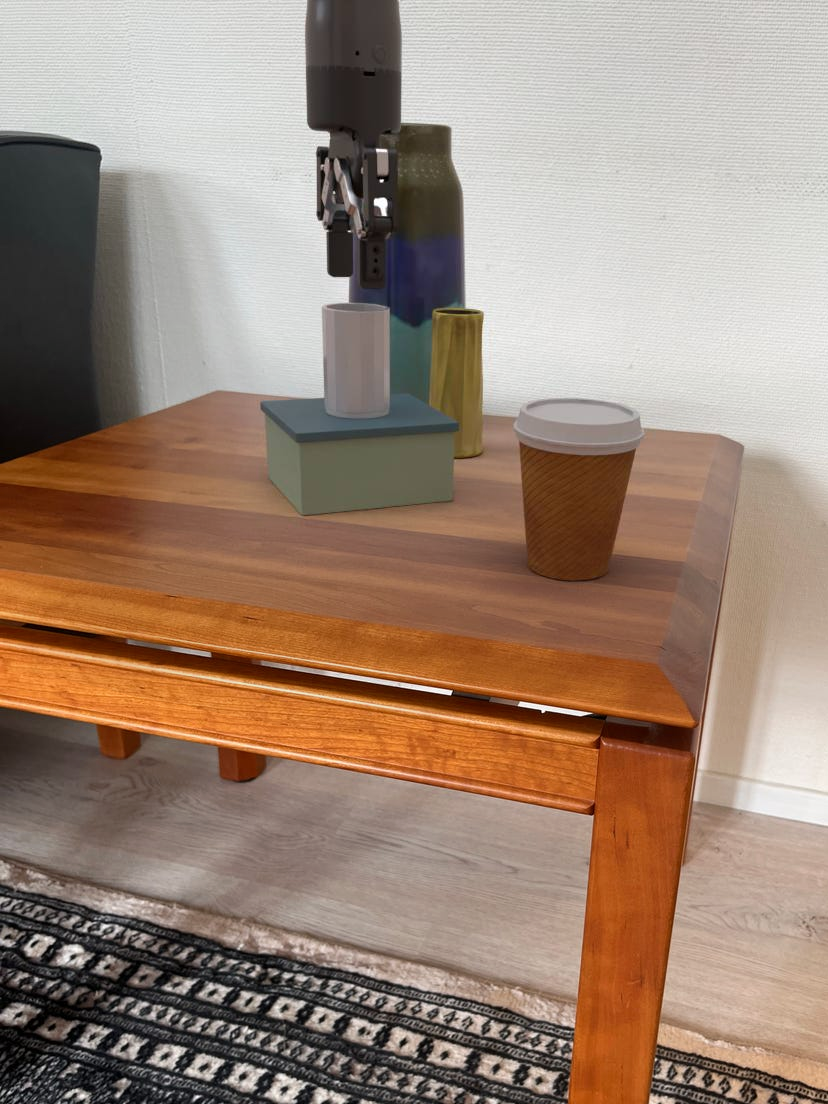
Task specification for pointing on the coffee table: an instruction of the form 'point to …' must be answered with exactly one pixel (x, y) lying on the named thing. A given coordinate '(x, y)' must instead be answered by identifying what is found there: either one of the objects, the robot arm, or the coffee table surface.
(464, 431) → the vase
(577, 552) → the disposable coffee cup
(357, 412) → the cup
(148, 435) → the coffee table surface
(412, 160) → the vase
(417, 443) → the container
